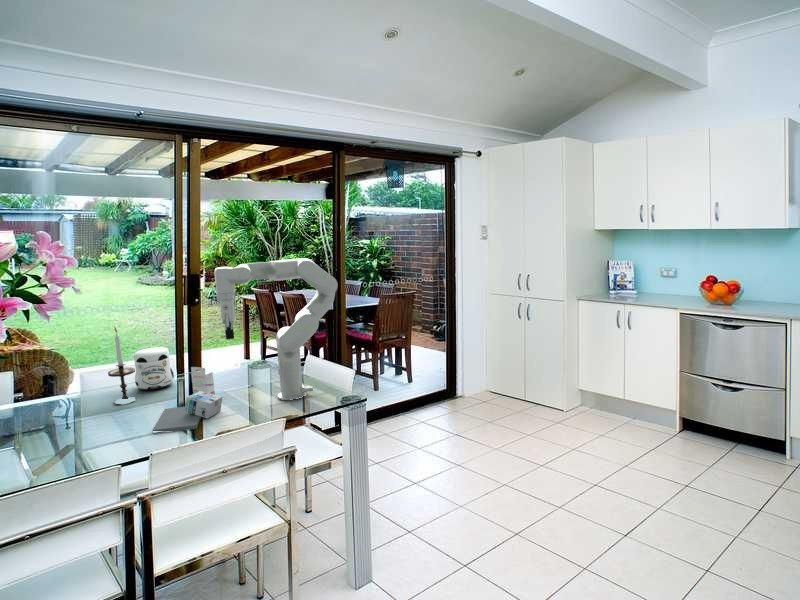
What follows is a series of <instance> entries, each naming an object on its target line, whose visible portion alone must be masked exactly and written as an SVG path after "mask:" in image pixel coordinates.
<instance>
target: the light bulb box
mask: <svg viewBox="0 0 800 600" xmlns="http://www.w3.org/2000/svg"><path fill="white" fill-rule="evenodd" d="M223 397H224V396H222V395H217V394H215V395H214V394H210V393H207V392H203V391H199V392H197V393H195V394H193V393H192V394H191V395H188V396H186V399H185V404H184V407H185V410H184V412H187V413H190V414H194V415H198V416H201V418H205V419H209V418H210V417H212V416H214V415H215V414H217V413H219V412H221V408H222V403H223Z"/></svg>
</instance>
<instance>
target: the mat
mask: <svg viewBox="0 0 800 600" xmlns="http://www.w3.org/2000/svg"><path fill="white" fill-rule="evenodd" d="M184 410H185V406H180V407H170V408H164V410H163V411H162V413H161V415H160V417H159V418H158V420H157V422H156V424H155V425H154V427H153V428H152V432H153V431H173V432H179V431H187V430H188V431H189V430H197V428H198V426H199V424H200V421H201V420H202V417H201V416H198V415H194V414H190V413H187V412H184Z"/></svg>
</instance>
